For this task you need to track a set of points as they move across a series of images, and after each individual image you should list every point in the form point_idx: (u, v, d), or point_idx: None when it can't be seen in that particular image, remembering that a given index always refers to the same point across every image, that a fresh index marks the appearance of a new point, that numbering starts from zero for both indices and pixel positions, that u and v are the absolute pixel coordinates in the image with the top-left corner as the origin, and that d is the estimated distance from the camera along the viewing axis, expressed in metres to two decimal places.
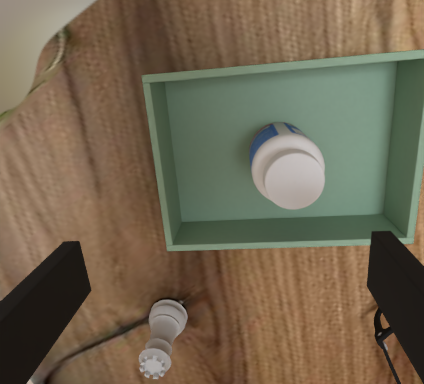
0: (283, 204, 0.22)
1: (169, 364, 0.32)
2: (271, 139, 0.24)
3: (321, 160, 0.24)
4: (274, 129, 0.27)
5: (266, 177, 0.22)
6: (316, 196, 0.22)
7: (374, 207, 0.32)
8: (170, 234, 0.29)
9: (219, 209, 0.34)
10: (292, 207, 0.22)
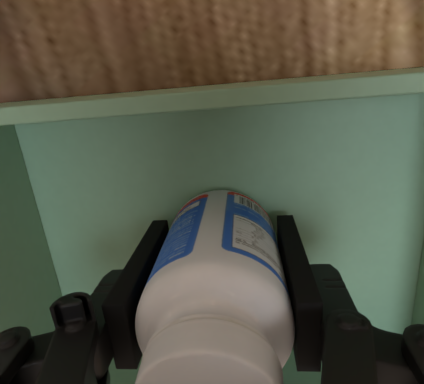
0: None
1: None
2: (171, 268, 0.10)
3: (285, 322, 0.10)
4: (198, 221, 0.13)
5: None
6: None
7: (393, 329, 0.19)
8: None
9: None
10: None
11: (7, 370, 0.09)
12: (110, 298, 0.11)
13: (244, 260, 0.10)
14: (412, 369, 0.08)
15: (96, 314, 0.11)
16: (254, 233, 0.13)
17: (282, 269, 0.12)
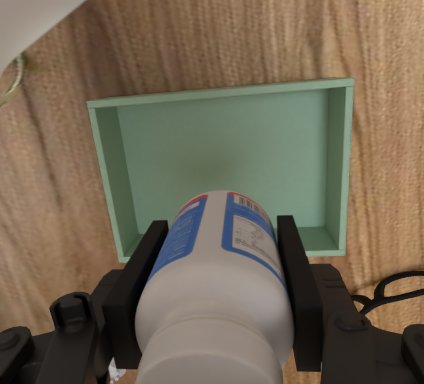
0: None
1: (124, 369, 0.34)
2: (171, 268, 0.10)
3: (285, 322, 0.10)
4: (198, 222, 0.13)
5: None
6: None
7: (317, 219, 0.34)
8: (121, 247, 0.31)
9: (172, 222, 0.36)
10: None
11: (7, 370, 0.09)
12: (110, 298, 0.11)
13: (244, 260, 0.10)
14: (412, 369, 0.08)
15: (96, 314, 0.11)
16: (254, 233, 0.13)
17: (282, 269, 0.12)
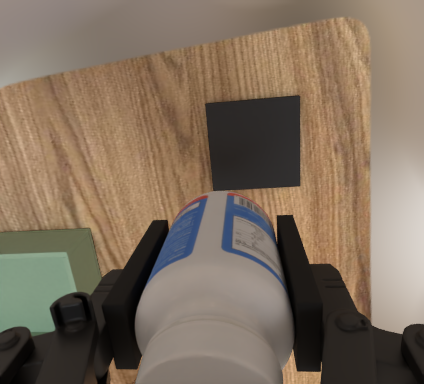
0: None
1: None
2: (171, 270, 0.10)
3: (285, 323, 0.10)
4: (198, 222, 0.13)
5: None
6: None
7: None
8: None
9: None
10: None
11: (7, 370, 0.09)
12: (110, 298, 0.11)
13: (244, 262, 0.10)
14: (412, 369, 0.08)
15: (96, 314, 0.11)
16: (254, 234, 0.13)
17: (282, 270, 0.12)
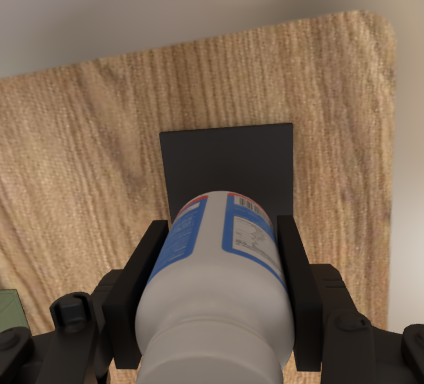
0: None
1: None
2: (171, 270, 0.10)
3: (285, 324, 0.10)
4: (198, 223, 0.13)
5: None
6: None
7: None
8: None
9: None
10: None
11: (7, 370, 0.09)
12: (110, 298, 0.11)
13: (244, 262, 0.10)
14: (412, 369, 0.08)
15: (96, 314, 0.11)
16: (254, 234, 0.13)
17: (282, 270, 0.12)
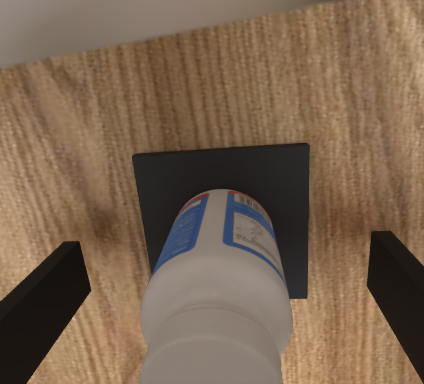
0: None
1: None
2: (175, 262, 0.11)
3: (283, 313, 0.11)
4: (200, 219, 0.14)
5: (141, 383, 0.09)
6: None
7: None
8: None
9: None
10: None
11: None
12: None
13: (244, 254, 0.11)
14: None
15: None
16: (253, 230, 0.13)
17: (280, 264, 0.13)
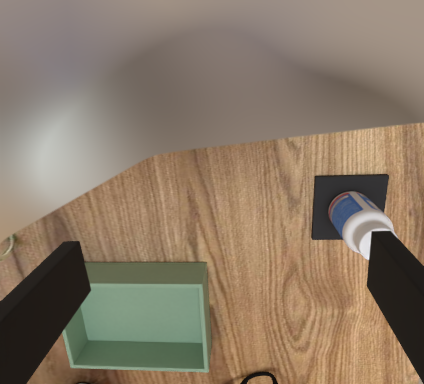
0: None
1: None
2: (359, 213, 0.36)
3: (392, 228, 0.36)
4: (355, 201, 0.39)
5: (361, 241, 0.34)
6: None
7: (202, 339, 0.53)
8: (72, 359, 0.50)
9: (110, 335, 0.54)
10: None
11: None
12: None
13: (380, 211, 0.36)
14: None
15: None
16: (375, 205, 0.39)
17: None
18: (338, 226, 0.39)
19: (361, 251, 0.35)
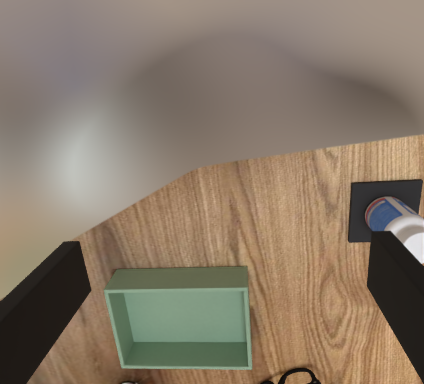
0: None
1: None
2: (399, 218, 0.39)
3: None
4: (393, 207, 0.41)
5: None
6: None
7: (242, 338, 0.56)
8: (122, 360, 0.53)
9: (154, 336, 0.57)
10: None
11: None
12: None
13: (419, 216, 0.39)
14: None
15: None
16: None
17: None
18: (377, 230, 0.42)
19: None
